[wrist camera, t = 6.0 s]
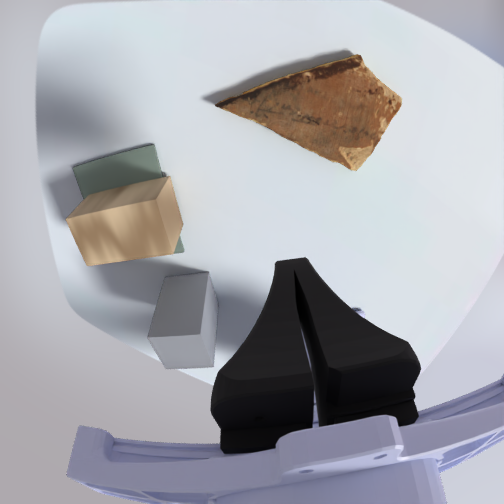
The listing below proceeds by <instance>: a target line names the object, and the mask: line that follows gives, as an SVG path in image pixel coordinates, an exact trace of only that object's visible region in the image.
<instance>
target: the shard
mask: <svg viewBox="0 0 504 504" xmlns="http://www.w3.org/2000/svg"><path fill="white" fill-rule="evenodd" d="M401 105H402V98H401V97H400V96H399V95H397V94H396V93H395V92H394V91H392V90H391V89H390V88H389V87H387V86H386V85H385V84H383V83H382V82H381V81H380V80H379V79H378V78H376V76H375V75H374V74H373V73H372V72H371V71H370V70H369V68H367V67H366V66H365V64H364V62H363V59H362V57H361V55H358V54H356V55H353V56H351V57H349V58H345V59H342V60H338V61H333V62H330V63H325V64H323V65H319V66H317V67H314V68H312V69H307V70H304V71H301V72H297V73H294V74H288V75H287V76H285V77H281V78H278V79H275V80H272V81H269V82H267V83H265V84H263V85H259V86H257V87H254V88H252V89H250V90H248V91H246V92H244V93H243V94H241V95H239V96H237V97H229V98H227V99H225V100H223V101H220V102H219V103H217V104H215V106H216V107H219V108H221V109H223V110H226V111H229V112H231V113H233V114H236V115H238V116H240V117H243V118H246V119H250V120H253V121H255V122H256V123H259V124H261V125H263V126H265V127H267V128H269V129H271V130H273V131H275V132H276V133H277V134H279V135H280V136H282V137H284V138H286V139H288V140H291V141H293V142H295V143H297V144H298V145H300V146H301V147H303V148H305V149H307V150H309V151H312V152H315V153H317V154H318V155H319V156H321V157H324V158H326V159H328V160H330V161H332V162H338V163H341V164H342V165H344V166H345V167H347V168H348V169H350V170H355V171H357V170H358V169H359V168H360V167H361V166H362V164H363V163H364V162H365V161H366V159H367V158H368V157H369V156H370V155H371V154H372V152H373V151H374V149H375V147H376V145H377V144H378V142H379V141H380V139H381V136H382V135H383V133H384V132H385V130H386V129H387V127H388V125H389V124H390V122H391V120H392V118H393V117H394V116H395V115H396V113H397V112H398V111H399V109H400V107H401Z"/></svg>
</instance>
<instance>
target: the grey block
mask: <svg viewBox="0 0 504 504" xmlns="http://www.w3.org/2000/svg"><path fill="white" fill-rule="evenodd" d="M218 308H219V305H218V301H217V298H216V295H215V291H214V288H213V284H212V281H211V277H210V274H209V272H204V273H195V274H187V275H178V276H170V277H165V279H164V283H163V286H162V289H161V292H160V296H159V299H158V302H157V306H156V309H155V312H154V316H153V319H152V323H151V326H150V330H149V333H148V337H147V338H148V340H149V341H150V343H151V345H152V347H153V348H154V350H155V352H156V354H157V355H158V357H159V359H160V360H161V362H162V364H163V365H164V367H165V368H166V369H187V368H208V367H214V356H215V343H216V331H217V319H218Z"/></svg>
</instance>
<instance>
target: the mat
mask: <svg viewBox="0 0 504 504" xmlns="http://www.w3.org/2000/svg"><path fill="white" fill-rule="evenodd" d="M73 171H74V174H75V177H76V179H77V182H78V185H79V188H80V191H81V194H82V196H83V199H85V198H86V197H87V196H88V195H90V194H93V193H97V192H101V191H105V190H109V189H113V188H118V187H122V186H126V185H130V184H135V183H139V182H144V181H148V180H153V179H158V178H163V176H162V172H161V168H160V164H159V161H158V157H157V153H156V149H155V145H154V144H153V145H149V146H145V147H141V148H137V149H133V150H129V151H125V152H122V153H118V154H114V155H111V156H107V157H104V158H101V159H97V160H94V161H91V162H87V163H84V164H81V165H78V166H75V167H73ZM182 252H184V248H183V244H182V241H181V238H180V236H179V239H178V242H177V245H176V248H175V251H174V254H175V253H182Z"/></svg>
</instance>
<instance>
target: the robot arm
mask: <svg viewBox="0 0 504 504" xmlns="http://www.w3.org/2000/svg"><path fill="white" fill-rule="evenodd" d="M420 370H421V366H420V363H419V360H418V358H417V356H416V354H415V352H414V351H413V349H412V347H411V346H410V344H409V343H408V342H407V341H405V340H403V339H401V338H398V337H396V336H394V335H392V334H390V333H388V332H386V331H384V330H382V329H380V328H379V327H377V326H375V325H374V324H372V323H371V322H369V321H368V320H366V319H365V313H364V311H354V310H353V309H352V308H350V307H349V306H348V305H347V304H346V303H345V302H343V301H342V300H341V299H340V298H339V297H338V296H337V295H336V294H335V293H334V292H333V291H332V290H331V288H330V287H329V286H328V285H327V284H326V283H325V282H324V281H323V279H322V278H321V277H320V276H319V274H318V273H317V272H316V271H315V269H314V268H313V266H312V265H311V263H310V262H309V260H308V259H307V258H306V257H304V258H297V259H290V260H282V261H277V262H276V263H275V271H274V277H273V282H272V285H271V288H270V292H269V295H268V297H267V300H266V303H265V305H264V308H263V310H262V312H261V314H260V316H259V318H258V320H257V322H256V324H255V325H254V327H253V329H252V330H251V332H250V334H249V335H248V337H247V338H246V340H245V341H244V342H243V344H242V345H241V346H240V348H239V349H238V350H237V352H236V353H235V354H234V355H233V357H232V358H231V359H230V360H229V361H228V362H227V363H226V364H225V365H224V366H223V367H222V368H221V369H220V370H219V371H218V374H217V377H216V380H215V383H214V386H213V391H212V396H211V414H212V416H213V417H214V419H215V421H216V422H217V424H218V426H219V427H220V429H221V436H220V444H186V443H164V442H149V441H138V440H128V439H120V438H114V437H113V436H112V435H111V434H110V433H109V432H107V431H105V430H103V429H99V428H93V427H87V426H79V427H78V431H77V434H76V438H75V441H74V445H73V449H72V453H71V457H70V461H69V466H68V470H67V474H66V475H67V477H69V478H71V479H73V480H75V481H77V482H78V483H80V484H82V485H85V486H86V487H88V488H91V489H92V490H95V491H97V492H99V493H102V494H106V495H110V496H114V497H119V498H123V499H128V500H133V501H137V502H142V503H147V504H447V502H446V497H445V493H444V489H443V485H442V482H441V477H440V473H441V472H443V471H445V470H447V469H450V468H452V467H454V466H456V465H458V464H460V463H462V462H464V461H466V460H468V459H470V458H472V457H474V456H476V455H477V454H479V453H481V452H483V451H485V450H487V449H488V448H490V447H492V446H494V445H495V444H497V443H499V442H501V441H502V440H504V374H503V376H502V378H501V379H500V380H498V381H496V382H494V383H491V384H489V385H487V386H485V387H483V388H480V389H478V390H476V391H473V392H471V393H469V394H466V395H463V396H461V397H458V398H456V399H453V400H450V401H448V402H445V403H442V404H439V405H436V406H434V407H431V408H428V409H425V410H422V411H417V408H416V405H415V402H414V399H415V393H414V390H413V386H414V384H415V381H416V380H417V378H418V376H419V374H420Z"/></svg>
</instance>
